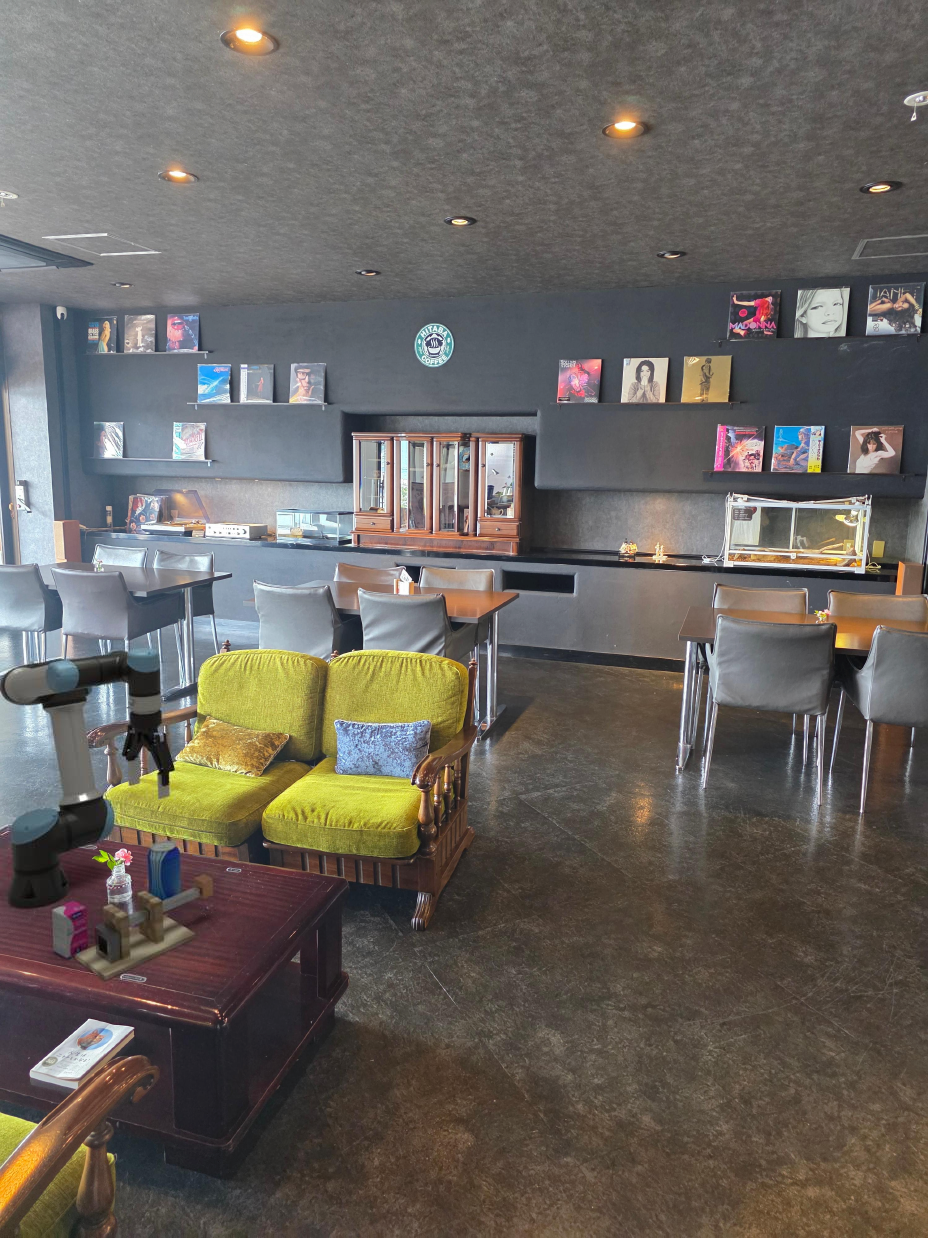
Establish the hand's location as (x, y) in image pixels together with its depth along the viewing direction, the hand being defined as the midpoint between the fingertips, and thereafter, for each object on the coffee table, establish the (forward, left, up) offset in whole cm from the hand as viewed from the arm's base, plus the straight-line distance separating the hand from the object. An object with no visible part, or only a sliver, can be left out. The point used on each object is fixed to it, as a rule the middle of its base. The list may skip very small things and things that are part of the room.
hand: (148, 790), depth 209 cm
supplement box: (-4, -20, -37) cm, 42 cm away
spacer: (+7, -16, -36) cm, 40 cm away
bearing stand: (+7, -9, -37) cm, 38 cm away
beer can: (-9, +9, -37) cm, 39 cm away
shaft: (+7, 0, -30) cm, 31 cm away
